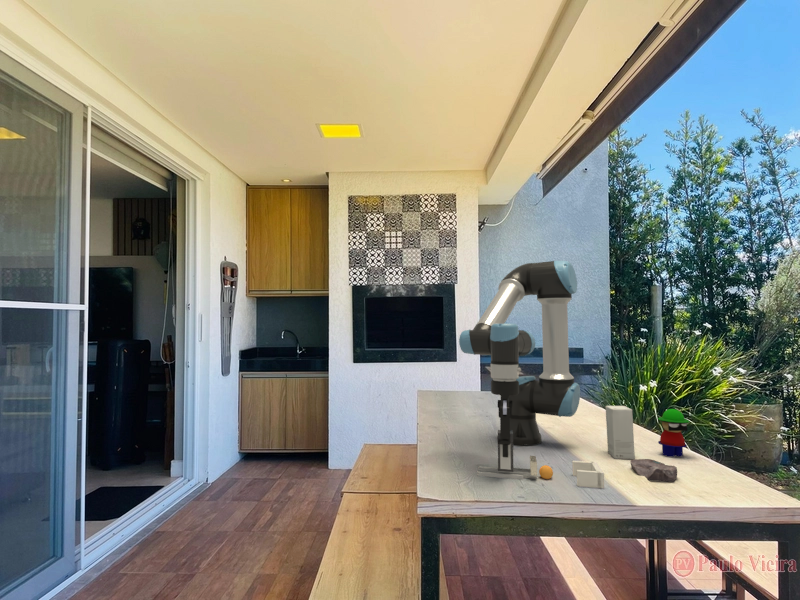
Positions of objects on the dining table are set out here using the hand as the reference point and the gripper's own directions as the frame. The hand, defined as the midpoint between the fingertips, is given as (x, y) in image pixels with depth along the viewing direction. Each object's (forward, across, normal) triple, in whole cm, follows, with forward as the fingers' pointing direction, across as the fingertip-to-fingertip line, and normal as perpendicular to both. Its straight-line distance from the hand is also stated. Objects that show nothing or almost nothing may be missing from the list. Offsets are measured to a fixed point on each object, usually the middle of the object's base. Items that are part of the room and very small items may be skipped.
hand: (505, 465), depth 123 cm
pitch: (+4, 0, -8) cm, 8 cm away
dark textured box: (+2, 0, -3) cm, 4 cm away
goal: (+3, 0, -21) cm, 21 cm away
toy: (+4, +37, -52) cm, 64 cm away
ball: (+1, 0, -10) cm, 11 cm away
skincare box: (+4, +33, -36) cm, 49 cm away
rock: (+4, +12, -40) cm, 42 cm away
